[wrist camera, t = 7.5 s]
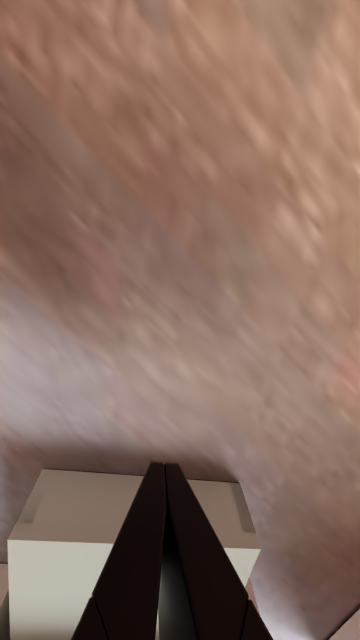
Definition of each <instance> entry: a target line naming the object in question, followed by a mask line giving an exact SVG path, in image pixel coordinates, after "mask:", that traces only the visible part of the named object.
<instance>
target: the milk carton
mask: <svg viewBox="0 0 360 640" xmlns="http://www.w3.org/2000/svg"><path fill="white" fill-rule="evenodd" d="M329 640H360V609H359V610H358V611H357V612H356V613H355V614H354V615H353V616H352V617H351V618H350V619H349V620H348V621H347V622H346V623H345V624H344V625H343V626H342V627H341V628H340V629H339V630H338V631H337V632H336V633H335V634H334V635H333V636H332V637H331V638H330V639H329Z"/></svg>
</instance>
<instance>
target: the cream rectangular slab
mask: <svg viewBox="0 0 360 640" xmlns="http://www.w3.org/2000/svg"><path fill="white" fill-rule="evenodd" d="M143 477H144V476H133V475H119V474H105V473H91V472H78V471H64V470H50V469H42V471H41V473H40V475H39V477H38V479H37V481H36V483H35V485H34V487H33V489H32V491H31V493H30V495H29V497H28V499H27V501H26V503H25V505H24V507H23V509H22V511H21V513H20V515H19V517H18V519H17V521H16V523H15V525H14V527H13V529H12V531H11V533H10V535H9V537H8V539H7V546H8V580H9V614H10V640H71V638H72V635H73V633H74V631H75V629H76V627H77V625H78V623H79V621H80V618H81V616H82V614H83V612H84V609H85V607H86V605H87V602H88V600H89V598H90V597H91V596H92V592H93V590H94V587H95V585H96V583H97V581H98V578H99V576H100V574H101V572H102V569H103V567H104V565H105V563H106V560H107V558H108V556H109V554H110V551H111V549H112V547H113V545H114V542H115V540H116V538H117V536H118V533H119V531H120V529H121V526H122V524H123V522H124V520H125V517H126V515H127V513H128V511H129V508H130V506H131V504H132V502H133V499H134V497H135V495H136V493H137V490H138V488H139V486H140V484H141V481H142V479H143ZM187 481H188V482H189V484H190V486H191V488H192V490H193V492H194V494H195V496H196V497H197V499H198V501H199V503H200V505H201V507H202V509H203V510H204V512H205V514H206V516H207V518H208V520H209V522H210V524H211V525H212V527H213V529H214V531H215V533H216V535H217V537H218V538H219V540H220V542H221V544H222V546H223V548H224V550H225V552H226V553H227V555H228V557H229V559H230V561H231V563H232V565H233V566H234V568H235V570H236V572H237V574H238V576H239V578H240V580H241V581H242V583H243V585H244V587H245V586H246V584H247V581H248V579H249V576H250V574H251V572H252V569H253V567H254V565H255V562H256V560H257V558H258V555H259V553H260V551H261V548H260V544H259V541H258V538H257V535H256V532H255V529H254V526H253V523H252V520H251V516H250V513H249V510H248V507H247V504H246V501H245V498H244V495H243V492H242V488H241V485H240V483H229V482H216V481H202V480H188V479H187ZM155 640H159V619H158V614H157V625H156V637H155Z"/></svg>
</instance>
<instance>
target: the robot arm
mask: <svg viewBox="0 0 360 640" xmlns="http://www.w3.org/2000/svg"><path fill="white" fill-rule="evenodd" d="M248 599H249V595H248V593H247V591H246V589H245V587H244V585H243V583H242V581H241V580H240V578H239V576H238V574H237V572H236V570H235V568H234V566H233V565H232V563H231V561H230V559H229V557H228V555H227V553H226V552H225V550H224V548H223V546H222V544H221V542H220V540H219V538H218V537H217V535H216V533H215V531H214V529H213V527H212V525H211V524H210V522H209V520H208V518H207V516H206V514H205V512H204V510H203V509H202V507H201V505H200V503H199V501H198V499H197V497H196V496H195V494H194V492H193V490H192V488H191V486H190V484H189V482H188V481H187V479H186V477H185V475H184V473H183V471H182V469H181V468H180V466H179V464H178V463H172V462H166V463H163V462H161V461H151V462H150V463H149V466H148V468H147V470H146V472H145V475H144V477H143V479H142V481H141V484H140V486H139V488H138V490H137V493H136V495H135V497H134V499H133V502H132V504H131V506H130V508H129V511H128V513H127V515H126V517H125V520H124V522H123V524H122V526H121V529H120V531H119V533H118V536H117V538H116V540H115V542H114V545H113V547H112V549H111V551H110V554H109V556H108V558H107V560H106V563H105V565H104V567H103V569H102V572H101V574H100V576H99V578H98V581H97V583H96V585H95V587H94V590H93V592H92V596H91V597H90V598H89V600H88V602H87V605H86V607H85V609H84V612H83V614H82V616H81V618H80V621H79V623H78V625H77V627H76V629H75V631H74V633H73V635H72V638H71V640H155V637H156V625H157V614H158V619H159V640H273V638H272V637H271V635H270V633H269V631H268V629H267V628H266V626H265V624H264V622H263V621H262V619H261V617H260V615H259V613H258V611H257V609H256V607H255V605H254V604H253V602H252V600H251V599H249V600H248Z"/></svg>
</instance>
